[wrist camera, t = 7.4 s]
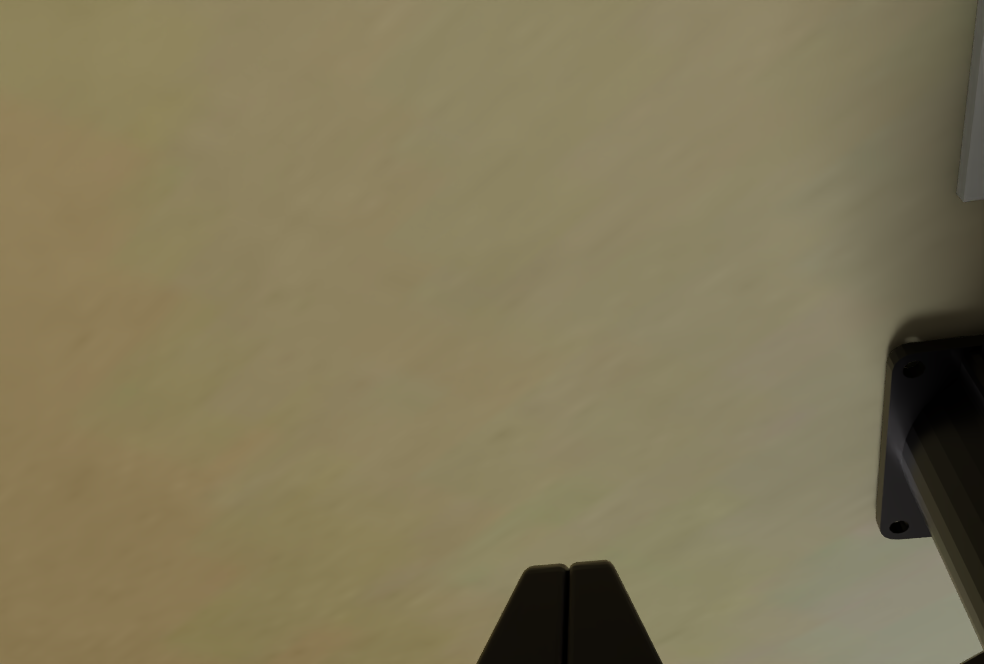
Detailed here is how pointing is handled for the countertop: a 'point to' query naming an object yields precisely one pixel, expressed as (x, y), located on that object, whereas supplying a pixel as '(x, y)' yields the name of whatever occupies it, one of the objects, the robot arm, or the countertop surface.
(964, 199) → the mat
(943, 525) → the robot arm
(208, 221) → the countertop surface
